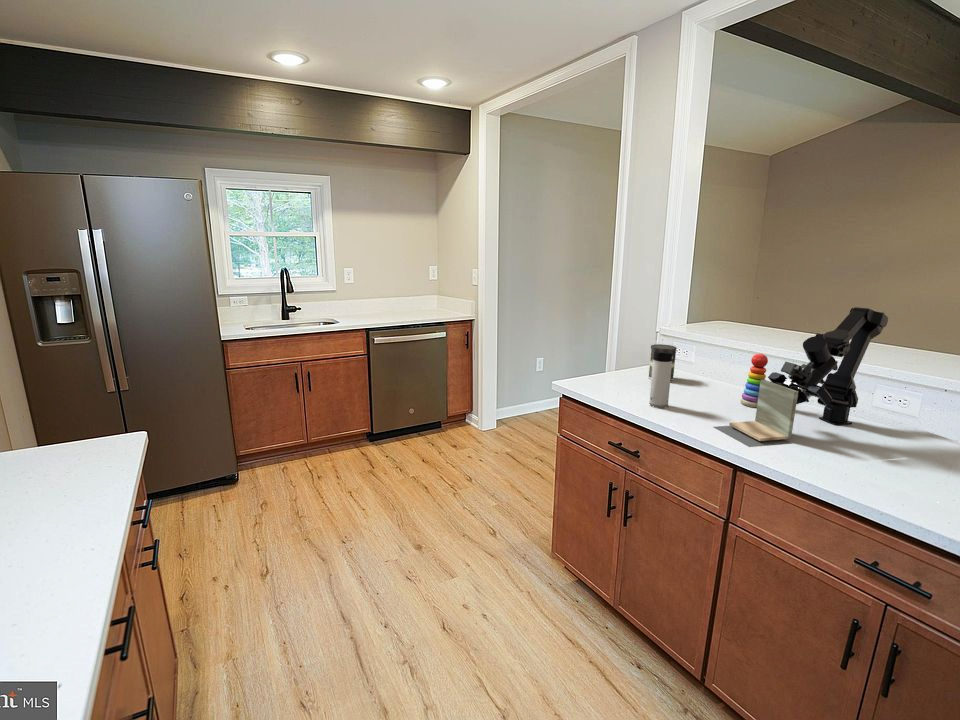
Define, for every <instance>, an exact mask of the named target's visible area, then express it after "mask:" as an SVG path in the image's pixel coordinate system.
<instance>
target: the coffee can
mask: <svg viewBox="0 0 960 720" xmlns="http://www.w3.org/2000/svg"><path fill="white" fill-rule="evenodd" d="M677 349H678V348H677V347H676V346H674V345H671V344H670V345H669V344H662V343H661V344H660V343H657V344H651V345H650V355H649V367H648V377H649V378H650V379H649V378H648V379H649V380H651V377H652V366H653V357H654V352H655V351H658V352H670V353H673V355H672V367H671V378H670V380H672V381H674V374H675V363H676V362H675V361H676V354H677Z"/></svg>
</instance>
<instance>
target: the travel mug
mask: <svg viewBox="0 0 960 720" xmlns="http://www.w3.org/2000/svg"><path fill="white" fill-rule="evenodd" d="M672 355H673V353H670V352H658V351H655V352H654V357H653V366H652V377H651V379H650V380H651V381H650V388H649V389H650V390H649V391H650V392H649V401H648V402H649V404H650V405H651V406H650V405H649V406H650V407H652V406H654V407H653V408H655V407H658V409H666V408H668V407H669V398H670V385H671V381H670V378H671V367H672ZM665 407H666V408H665Z"/></svg>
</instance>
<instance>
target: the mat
mask: <svg viewBox="0 0 960 720" xmlns="http://www.w3.org/2000/svg"><path fill="white" fill-rule="evenodd" d="M713 428H714V429H716V430H717V431H719V432H721V433H723V434H724V435H727V436H728V437H729V438H732V439H733V440H735V441H737V442H739V443H741V444H742V445H744V446H747V447H748V448H755V447H756V448H757V447H765V446H766V447H767V446H778V445H779V446H780V445H790V444H793V443H792V442H791V441H788V440H787V439H784V440H783V441H782V440H767V441H763V442H759V441H758V440H757V439H755V438H753V437H751V436H749V435H747V434H745V433H743V432H742V431H740V430H738V429H734V428H732V427H731V426H730V425H719V426H713Z"/></svg>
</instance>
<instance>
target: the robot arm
mask: <svg viewBox="0 0 960 720" xmlns="http://www.w3.org/2000/svg"><path fill="white" fill-rule="evenodd" d="M888 322H889V317H888V316H887V315H886V314H885V313H884V312H882V311H881V312H880V311H875V310H873V309H871V308H869V307H859V306H857V307H852V308H850V311H849V313H848V315H846V317H845V318H844V319H843V320H842V321H841V322H840V323H839V325H837V327H836V328H835V329H833V330H830V331H827V332H825V333H823V334H822V333H816V334H815V335H814V336H811V337H808V338H807V339H805V340H804V341H803V342H802V347H803V350H804V353H805V355H806V358H807V359H808V360H809V362H808V363H807V364H806V363H802V365H798V364H797V363H793V362H788V361H785V362H784V364H783V365H782V367H781V369H780V372H781V373H779V372H771V373H770V374H769V375H768V377H767V378H768V381H769V380H770V382H772V383H775V384H778V385H781V386H784V387H787V388H790V389H793V390H795V391H798V397H797V403H796V405H800V404H803V403H809V402H810V400H809V399H810V398H811V397H815V398H817V404H818V405H820V406H824V407H823V413H822V416H819V417H818V419H819V420H821V421H823V422H827V423H829V424H831V425H834V426H835V425H836V426H839V425H840V426H841V425H842V426H843V425H852V424H853V421H850V420H849V414H850V410H851V408H857V405H858V401H859V396H858V393H857V386H856V382H855V379H854V378H855V376H856V373H857V371H858V369H859V367H860V365H861V363H862V360H863V358H864V357H865V354H866V351H867V349H868V347H869V345H870V343H871V340H873V339H875V338H876V337H878V336H879V335H880V334H881V333H882V331H883V330H884V328H886V326H887V325H888ZM835 357H837V358H842V360H841V362H840V364H839V366H838V363H839V361H837V360H836V358H835ZM831 371H835V372H834V373H833V372H831ZM783 373H785V374H787V375H788V376H786V375H785V374H783ZM825 378H826V379H825ZM824 379H825V380H824ZM818 384H821V386H820V385H818Z"/></svg>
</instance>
